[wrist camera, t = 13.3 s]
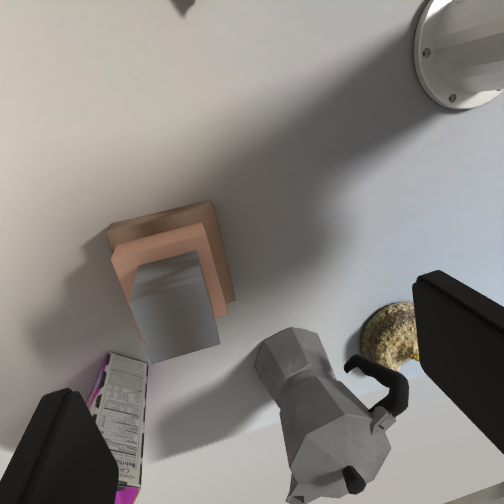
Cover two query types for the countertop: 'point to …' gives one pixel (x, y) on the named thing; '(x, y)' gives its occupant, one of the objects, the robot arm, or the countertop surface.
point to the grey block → (173, 307)
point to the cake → (391, 336)
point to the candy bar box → (122, 418)
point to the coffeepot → (327, 416)
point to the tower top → (166, 247)
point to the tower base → (175, 220)
